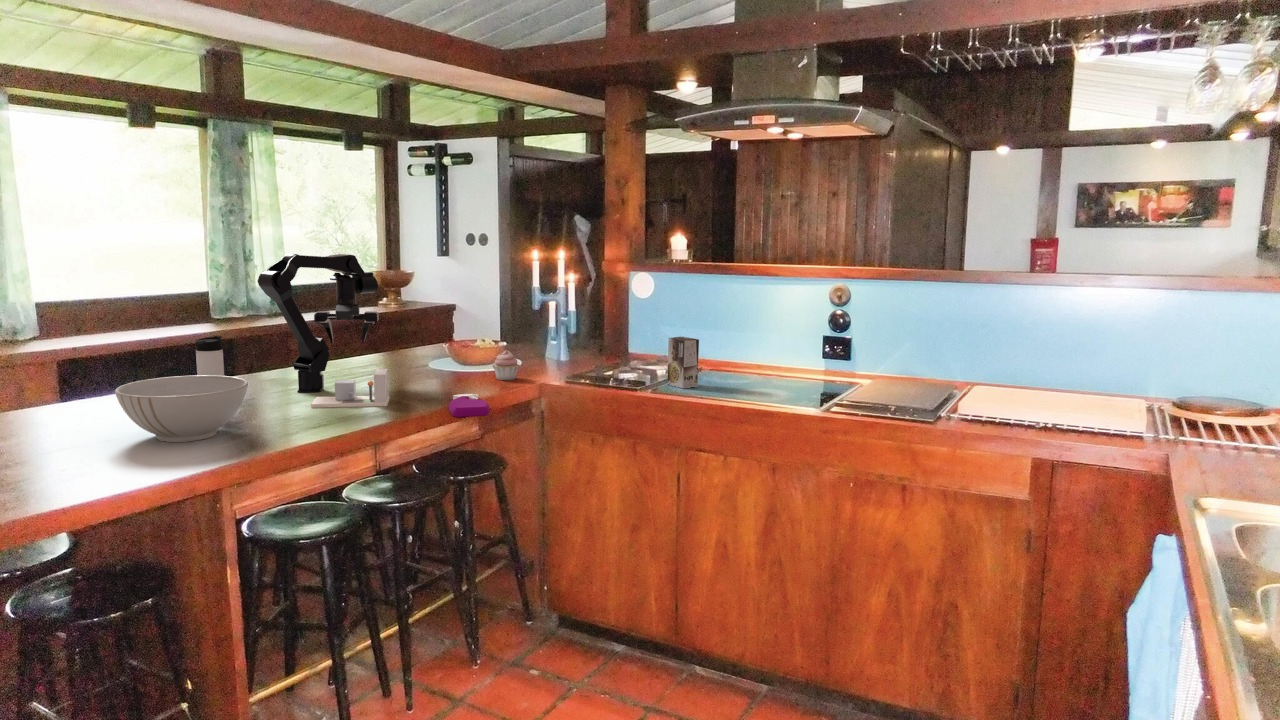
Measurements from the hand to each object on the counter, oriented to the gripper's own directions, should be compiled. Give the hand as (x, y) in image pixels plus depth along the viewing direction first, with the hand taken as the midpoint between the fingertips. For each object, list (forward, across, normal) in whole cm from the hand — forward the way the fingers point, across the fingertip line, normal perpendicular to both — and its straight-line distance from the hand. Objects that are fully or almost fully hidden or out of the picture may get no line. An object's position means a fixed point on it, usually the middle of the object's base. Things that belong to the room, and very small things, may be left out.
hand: (347, 343), depth 252 cm
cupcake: (+13, +50, +4) cm, 52 cm away
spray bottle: (+14, +36, -39) cm, 55 cm away
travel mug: (+13, -30, -37) cm, 49 cm away
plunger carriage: (+12, +2, -30) cm, 33 cm away
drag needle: (+12, +9, -33) cm, 36 cm away
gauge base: (+13, +5, -30) cm, 33 cm away
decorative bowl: (+13, -29, -63) cm, 71 cm away
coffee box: (+13, +107, -14) cm, 109 cm away
